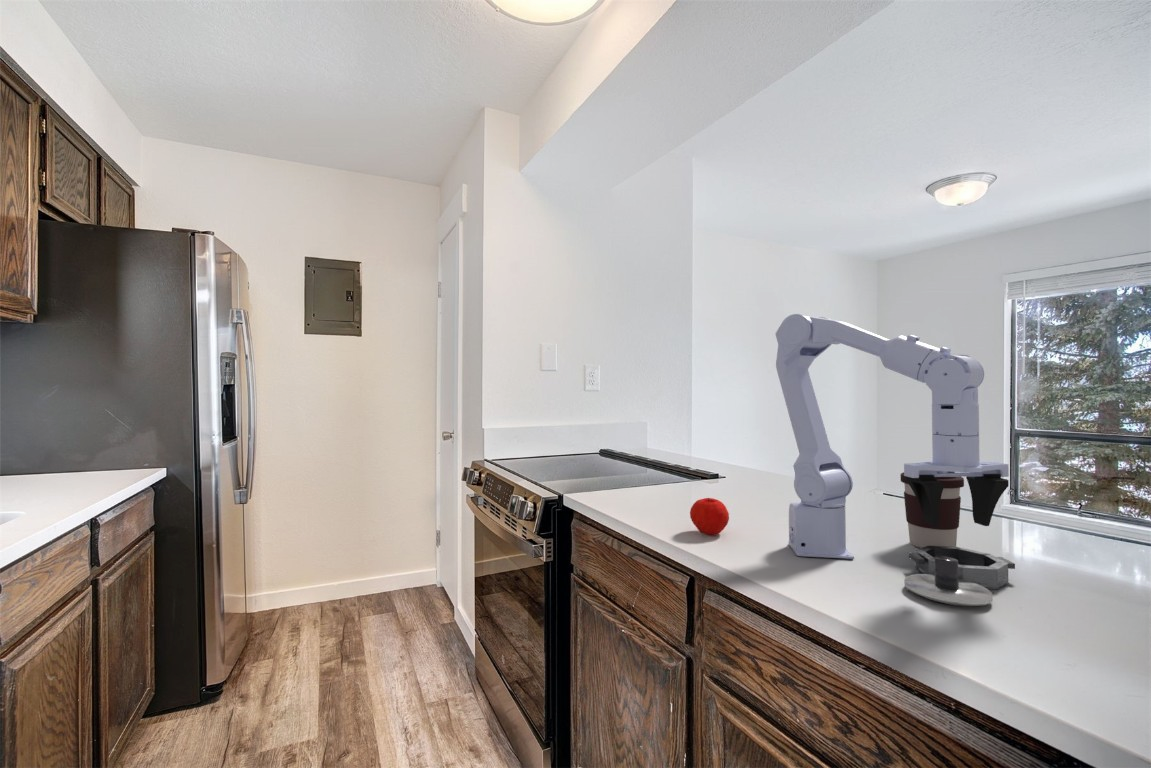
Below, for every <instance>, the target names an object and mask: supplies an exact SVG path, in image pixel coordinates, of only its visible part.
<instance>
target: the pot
mask: <svg viewBox="0 0 1151 768" xmlns="http://www.w3.org/2000/svg"><path fill="white" fill-rule="evenodd" d="M936 556H945V557H951V558H954V559H957V560H958V577H959V579H963V580H967V581H970V582H973V583H976V584H978V585H981V586H983V587H985V588H986V589H988V590H999V589H1001V588H1003V587H1005V586H1006V585H1008V584H1009V569H1010V570H1015V569H1016V563H1014V562H1013V561H1010V560H1009V559H1006V558H1005V557H1002V556H996V555H993V554H991V553H987V552H983V551H978V550H973V549H968V548H964V547H959V546H956V547H947V546H925V547H923V548H918V549H916V550H915V551H914V552H908V558H909V559H910V560H912V561H913V562H914V563H915V569H916V570H917V571H918V572H920V574H935V559H934V557H936Z"/></svg>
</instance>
